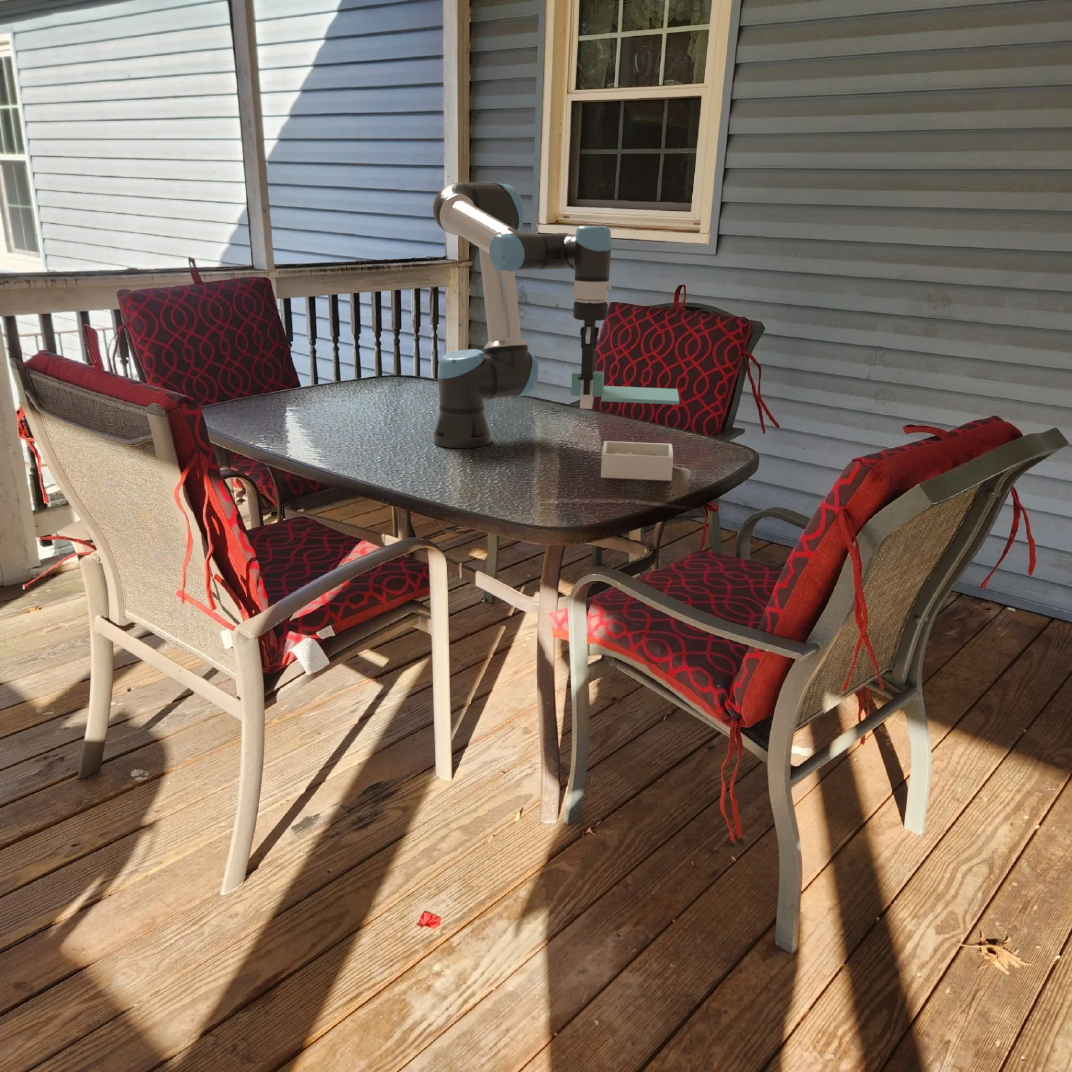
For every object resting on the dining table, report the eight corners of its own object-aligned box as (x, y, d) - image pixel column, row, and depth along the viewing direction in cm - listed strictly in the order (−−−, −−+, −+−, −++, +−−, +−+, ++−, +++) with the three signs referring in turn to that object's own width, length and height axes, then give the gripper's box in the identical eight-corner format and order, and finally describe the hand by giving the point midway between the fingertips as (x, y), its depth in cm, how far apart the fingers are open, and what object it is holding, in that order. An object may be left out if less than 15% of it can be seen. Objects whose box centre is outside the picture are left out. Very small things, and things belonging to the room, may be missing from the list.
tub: (600, 479, 195) (601, 454, 193) (603, 465, 206) (604, 441, 204) (671, 483, 193) (673, 457, 191) (670, 468, 204) (671, 443, 202)
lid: (569, 399, 189) (570, 377, 187) (574, 387, 201) (574, 366, 199) (679, 404, 186) (680, 381, 184) (677, 392, 198) (678, 370, 196)
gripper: (606, 305, 179) (601, 415, 187) (609, 297, 194) (604, 398, 203) (570, 304, 179) (567, 413, 188) (576, 296, 195) (573, 397, 204)
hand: (586, 405), depth 195 cm, fingers closed on lid, 4 cm apart
